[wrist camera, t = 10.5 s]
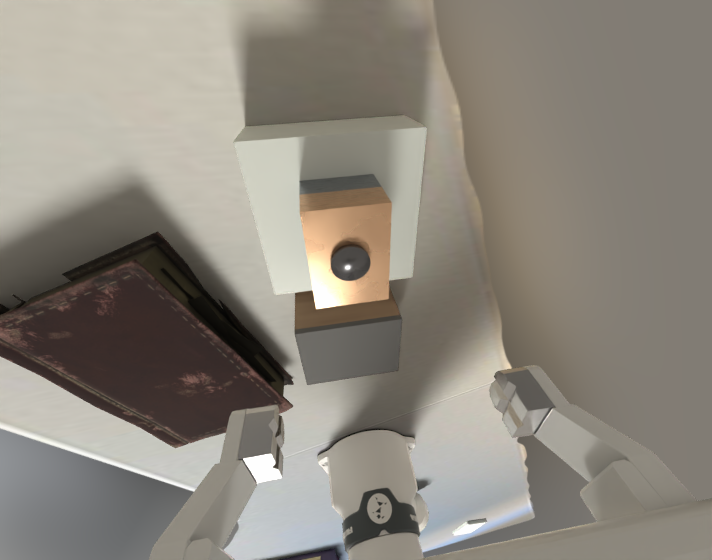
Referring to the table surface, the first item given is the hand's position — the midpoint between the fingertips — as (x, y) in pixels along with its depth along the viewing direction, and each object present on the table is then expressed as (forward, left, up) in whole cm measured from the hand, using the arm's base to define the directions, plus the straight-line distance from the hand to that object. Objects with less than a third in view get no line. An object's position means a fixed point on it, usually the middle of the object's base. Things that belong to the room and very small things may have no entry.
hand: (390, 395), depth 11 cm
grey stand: (0, 0, -19) cm, 19 cm away
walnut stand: (-14, 0, -19) cm, 23 cm away
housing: (0, 0, -14) cm, 14 cm away
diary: (-16, +20, -20) cm, 32 cm away
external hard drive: (-130, -39, -20) cm, 138 cm away
